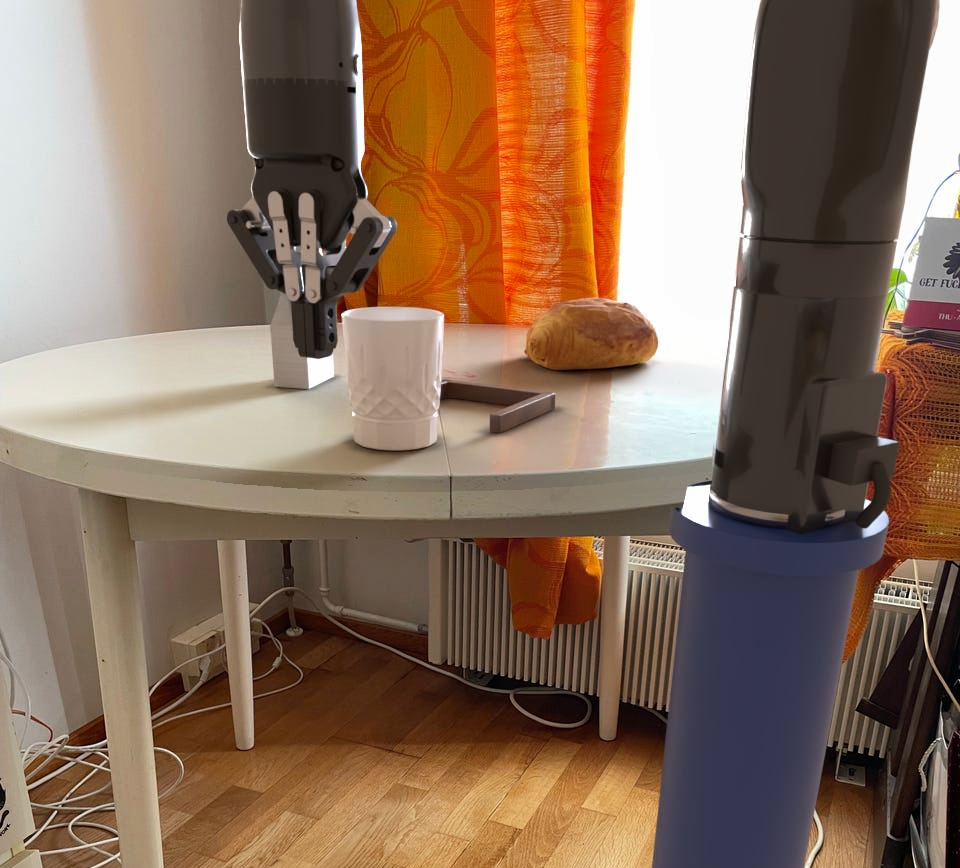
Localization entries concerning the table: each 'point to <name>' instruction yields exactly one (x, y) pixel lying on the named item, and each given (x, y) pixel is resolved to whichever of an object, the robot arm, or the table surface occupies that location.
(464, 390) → the bay
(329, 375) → the white milk carton
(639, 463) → the table surface
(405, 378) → the white cup
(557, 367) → the bread loaf
